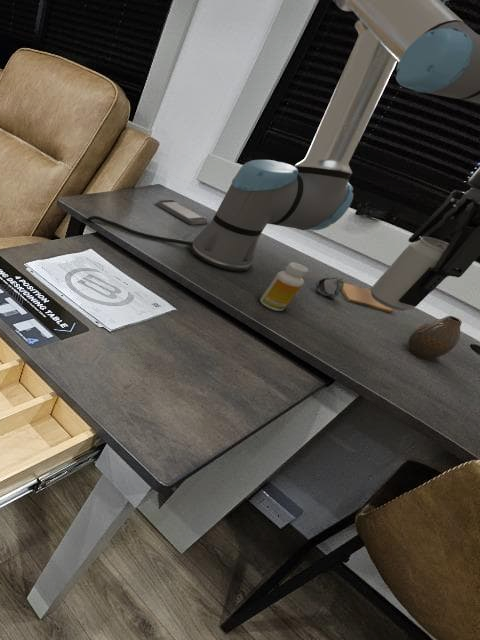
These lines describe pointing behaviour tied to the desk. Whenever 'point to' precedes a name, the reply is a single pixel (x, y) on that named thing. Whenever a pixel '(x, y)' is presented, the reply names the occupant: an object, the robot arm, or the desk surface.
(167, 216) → the desk surface
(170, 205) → the smartphone
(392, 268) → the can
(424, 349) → the vase
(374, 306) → the coaster
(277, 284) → the supplement bottle
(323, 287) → the wristwatch
